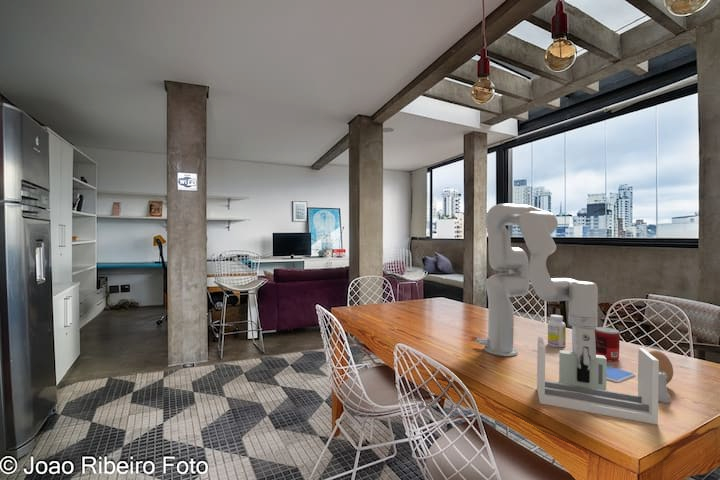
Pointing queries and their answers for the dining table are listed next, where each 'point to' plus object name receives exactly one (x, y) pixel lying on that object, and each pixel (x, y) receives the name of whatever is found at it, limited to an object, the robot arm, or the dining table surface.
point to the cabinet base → (605, 392)
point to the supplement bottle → (556, 331)
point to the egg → (663, 364)
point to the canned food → (607, 343)
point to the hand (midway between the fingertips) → (581, 378)
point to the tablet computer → (618, 374)
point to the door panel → (569, 370)
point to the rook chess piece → (663, 388)
